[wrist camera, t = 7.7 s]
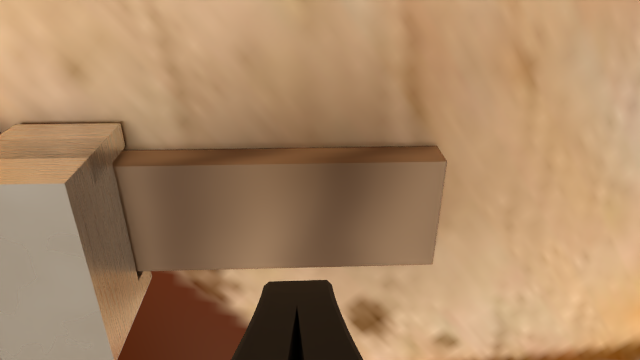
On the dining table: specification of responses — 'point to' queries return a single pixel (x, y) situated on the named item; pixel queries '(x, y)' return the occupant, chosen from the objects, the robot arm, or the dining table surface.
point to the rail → (281, 207)
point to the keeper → (64, 245)
